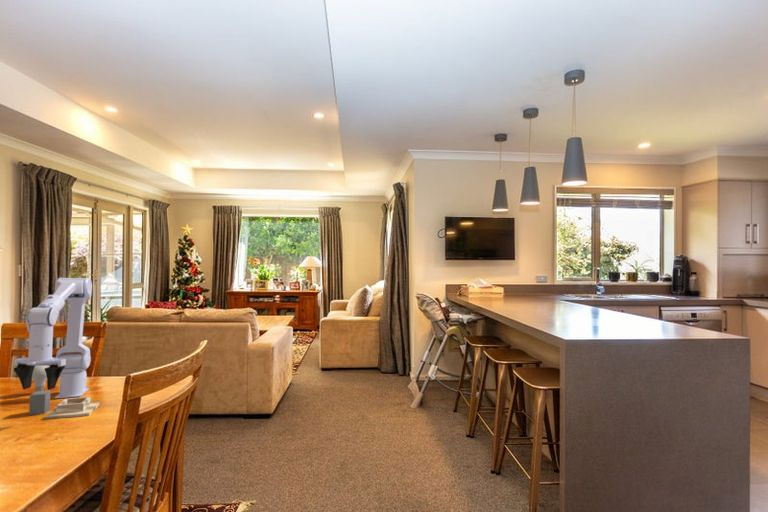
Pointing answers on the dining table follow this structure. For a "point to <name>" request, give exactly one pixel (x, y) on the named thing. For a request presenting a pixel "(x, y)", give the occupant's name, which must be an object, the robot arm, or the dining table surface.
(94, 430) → the dining table surface
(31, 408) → the plug
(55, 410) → the holder box
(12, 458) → the dining table surface
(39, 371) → the lightbulb
